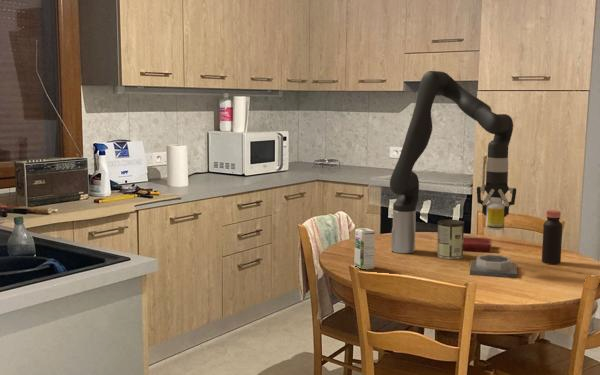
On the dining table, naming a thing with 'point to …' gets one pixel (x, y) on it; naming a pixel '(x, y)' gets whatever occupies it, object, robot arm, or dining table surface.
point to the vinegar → (552, 238)
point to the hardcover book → (477, 244)
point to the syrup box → (364, 248)
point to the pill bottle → (495, 214)
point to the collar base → (493, 266)
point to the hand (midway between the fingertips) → (495, 215)
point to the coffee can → (450, 239)
